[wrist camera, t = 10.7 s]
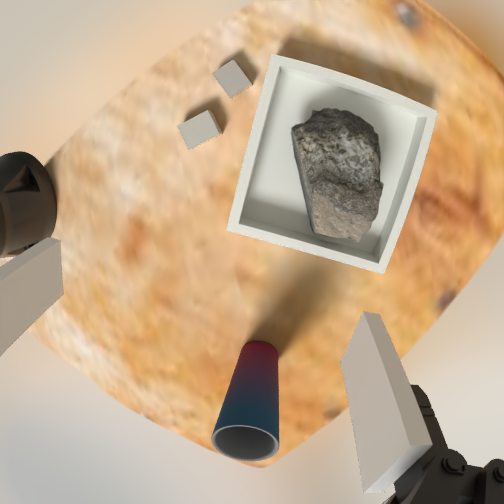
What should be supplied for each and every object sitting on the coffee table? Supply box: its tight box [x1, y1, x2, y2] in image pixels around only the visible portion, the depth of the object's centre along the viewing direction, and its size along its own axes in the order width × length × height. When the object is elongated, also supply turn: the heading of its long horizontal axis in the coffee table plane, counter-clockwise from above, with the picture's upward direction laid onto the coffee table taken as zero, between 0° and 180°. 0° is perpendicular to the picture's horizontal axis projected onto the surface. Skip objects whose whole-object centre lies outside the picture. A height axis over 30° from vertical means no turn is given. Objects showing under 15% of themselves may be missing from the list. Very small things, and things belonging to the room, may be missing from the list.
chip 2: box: [212, 60, 252, 99], centre depth 30 cm, size 3×3×2 cm
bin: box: [227, 54, 438, 274], centre depth 31 cm, size 17×18×4 cm
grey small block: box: [177, 110, 223, 150], centre depth 32 cm, size 4×3×2 cm
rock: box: [291, 108, 384, 242], centre depth 29 cm, size 13×9×6 cm, turn 13°
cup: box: [211, 341, 279, 461], centre depth 35 cm, size 7×7×15 cm
